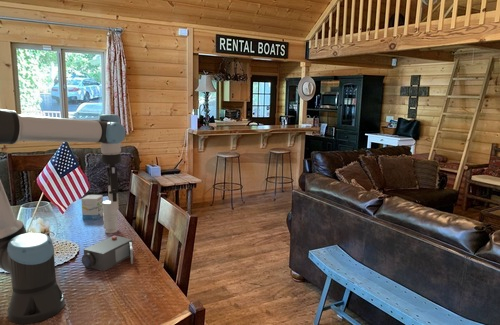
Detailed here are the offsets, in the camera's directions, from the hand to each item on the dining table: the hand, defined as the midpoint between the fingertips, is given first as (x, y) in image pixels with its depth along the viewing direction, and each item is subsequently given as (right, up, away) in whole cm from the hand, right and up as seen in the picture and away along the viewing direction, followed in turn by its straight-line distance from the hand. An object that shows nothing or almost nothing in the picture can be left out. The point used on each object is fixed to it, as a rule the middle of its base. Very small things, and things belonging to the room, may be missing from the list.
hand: (113, 204), depth 149 cm
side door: (+8, -22, -1) cm, 24 cm away
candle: (-13, -17, +32) cm, 38 cm away
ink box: (-31, -13, +52) cm, 62 cm away
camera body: (-2, -23, -2) cm, 23 cm away
